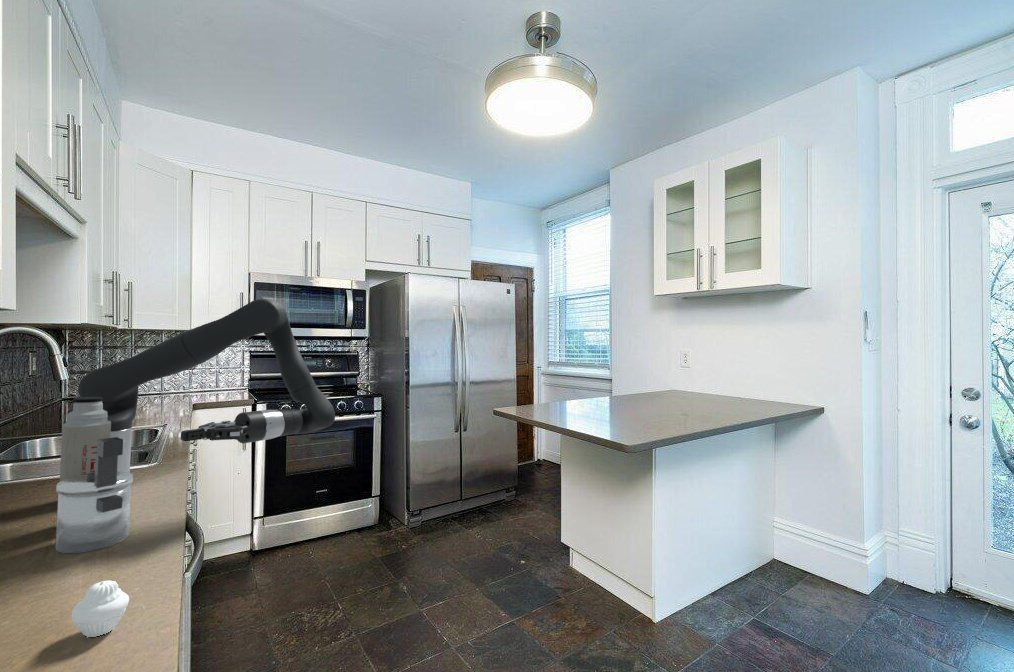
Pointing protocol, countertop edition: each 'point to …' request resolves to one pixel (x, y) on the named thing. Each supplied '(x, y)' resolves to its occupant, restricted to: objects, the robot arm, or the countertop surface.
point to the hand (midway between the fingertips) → (182, 436)
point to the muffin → (100, 609)
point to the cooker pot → (92, 520)
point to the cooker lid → (99, 472)
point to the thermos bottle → (83, 436)
